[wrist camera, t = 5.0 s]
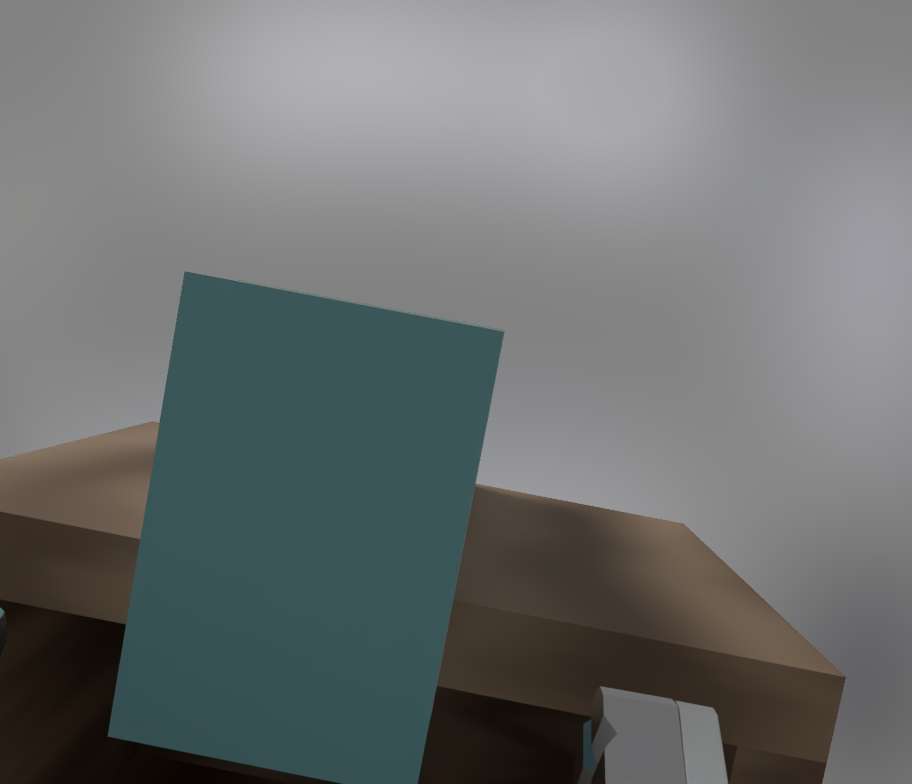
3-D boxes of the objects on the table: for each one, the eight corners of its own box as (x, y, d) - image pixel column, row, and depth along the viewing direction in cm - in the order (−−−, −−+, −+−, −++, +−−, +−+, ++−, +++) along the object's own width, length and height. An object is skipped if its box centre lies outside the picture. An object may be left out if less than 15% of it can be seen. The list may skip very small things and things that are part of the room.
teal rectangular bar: (464, 485, 35) (493, 335, 35) (418, 803, 11) (509, 328, 11) (364, 465, 35) (392, 315, 35) (103, 739, 11) (181, 266, 11)
